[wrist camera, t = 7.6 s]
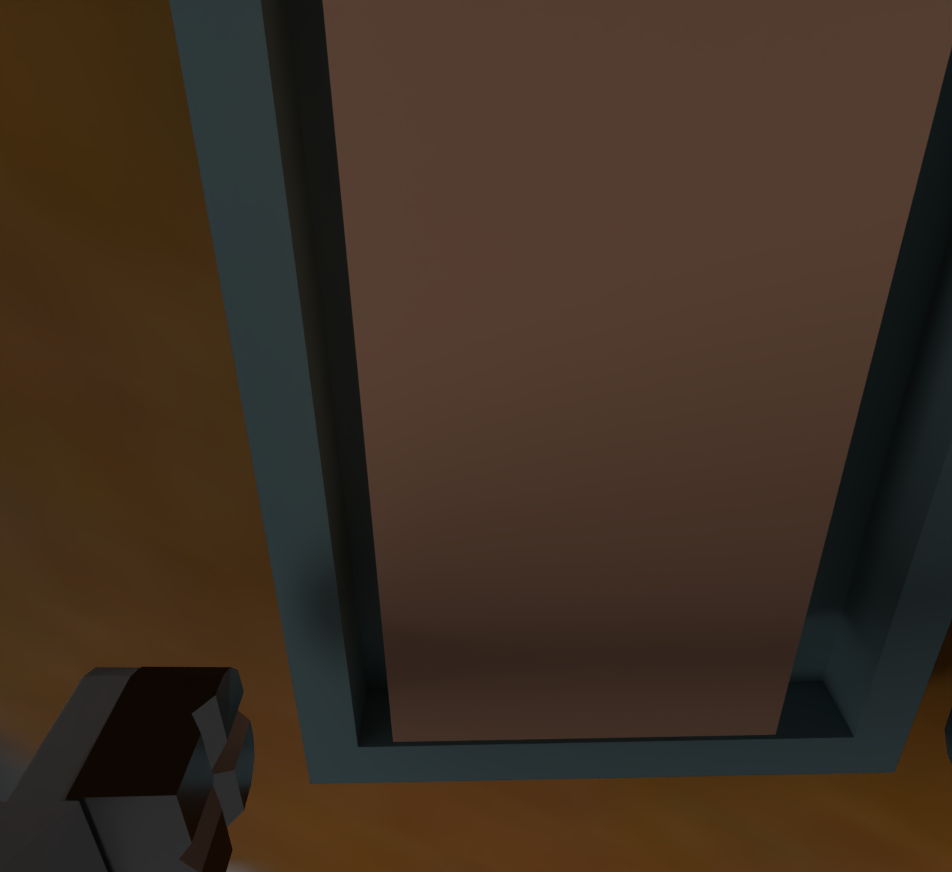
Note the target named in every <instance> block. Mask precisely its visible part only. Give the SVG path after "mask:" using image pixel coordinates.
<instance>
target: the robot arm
mask: <svg viewBox="0 0 952 872" xmlns="http://www.w3.org/2000/svg"><path fill="white" fill-rule="evenodd" d="M243 692H244V691H243V688H242V684H241V680H240V676H239V673H238V670H236V669H234V668H231V667H141V668H116V667H96V668H94V669H93V670H92V671H90V672H89V673H88V674H86V675H85V676H84V677H83V678H82V679H81V680H80V682H79V684H78V685H77V687H76V688H75V690H74V692H73V693H72V695H71V697H70V698H69V700H68V702H67V703H66V705H65V706H64V708H63V710H62V711H61V713H60V715H59V716H58V718H57V719H56V721H55V723H54V724H53V726H52V728H51V729H50V731H49V733H48V734H47V736H46V737H45V739H44V741H43V742H42V744H41V746H40V747H39V749H38V750H37V752H36V754H35V755H34V757H33V759H32V760H31V762H30V764H29V765H28V767H27V768H26V770H25V772H24V773H23V775H22V777H21V778H20V780H19V782H18V783H17V785H16V786H15V788H14V790H13V791H12V793H11V795H10V796H9V798H8V800H7V801H6V802H0V872H226V870H227V867H228V863H229V860H230V857H231V853H232V850H233V849H232V846H231V842H230V838H229V834H228V830H227V826H228V825H229V824H230V823H231V822H232V821H233V820H234V819H235V818H236V817H237V816H238V815H239V814H240V813H241V812H242V811H243V810H244V809H245V805H246V801H247V797H248V794H249V790H250V786H251V780H252V772H253V764H254V739H253V732H252V727H251V723H250V720H249V719H247V718H246V717H245V716H244V715H243V714H241V713H240V712H239V711H238V707H239V704H240V701H241V698H242V695H243ZM945 736H946V745H947V754H948V756H949V759H950V761H951V764H952V709H951V712H950V715H949V717H948V720H947V723H946V726H945Z"/></svg>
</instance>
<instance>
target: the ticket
mask: <svg viewBox="0 0 952 872" xmlns="http://www.w3.org/2000/svg"><path fill="white" fill-rule="evenodd" d="M322 1H323V11H324V22H325V32H326V43H327V53H328V64H329V74H330V85H331V95H332V106H333V116H334V127H335V137H336V148H337V158H338V169H339V179H340V190H341V200H342V211H343V221H344V232H345V242H346V253H347V263H348V274H349V284H350V295H351V305H352V316H353V326H354V337H355V347H356V358H357V368H358V379H359V389H360V400H361V410H362V421H363V431H364V442H365V452H366V463H367V473H368V484H369V494H370V505H371V516H372V526H373V537H374V547H375V558H376V568H377V579H378V589H379V600H380V610H381V621H382V631H383V642H384V652H385V663H386V673H387V684H388V694H389V705H390V715H391V726H392V736H393V742H416V741H469V740H522V739H575V738H628V737H681V736H733V735H776V731H777V727H778V723H779V719H780V715H781V711H782V707H783V703H784V700H785V696H786V692H787V688H788V684H789V680H790V676H791V672H792V668H793V664H794V661H795V657H796V653H797V649H798V645H799V641H800V637H801V633H802V629H803V625H804V621H805V618H806V614H807V610H808V606H809V602H810V598H811V594H812V590H813V586H814V582H815V579H816V575H817V571H818V567H819V563H820V559H821V555H822V551H823V547H824V543H825V540H826V536H827V532H828V528H829V524H830V520H831V516H832V512H833V508H834V504H835V500H836V497H837V493H838V489H839V485H840V481H841V477H842V473H843V469H844V465H845V461H846V458H847V454H848V450H849V446H850V442H851V438H852V434H853V430H854V426H855V422H856V419H857V415H858V411H859V407H860V403H861V399H862V395H863V391H864V387H865V383H866V379H867V376H868V372H869V368H870V364H871V360H872V356H873V352H874V348H875V344H876V340H877V337H878V333H879V329H880V325H881V321H882V317H883V313H884V309H885V305H886V301H887V298H888V294H889V290H890V286H891V282H892V278H893V274H894V270H895V266H896V262H897V258H898V255H899V251H900V247H901V243H902V239H903V235H904V231H905V227H906V223H907V219H908V216H909V212H910V208H911V204H912V200H913V196H914V192H915V188H916V184H917V180H918V177H919V173H920V169H921V165H922V161H923V157H924V153H925V149H926V145H927V141H928V137H929V134H930V130H931V126H932V122H933V118H934V114H935V110H936V106H937V102H938V98H939V95H940V91H941V87H942V83H943V79H944V75H945V71H946V67H947V63H948V59H949V56H950V52H951V48H952V0H322Z"/></svg>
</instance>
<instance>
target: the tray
mask: <svg viewBox="0 0 952 872" xmlns="http://www.w3.org/2000/svg"><path fill="white" fill-rule="evenodd" d="M169 2H170V7H171V13H172V19H173V24H174V30H175V35H176V41H177V46H178V52H179V57H180V63H181V68H182V74H183V80H184V85H185V91H186V96H187V102H188V107H189V113H190V118H191V124H192V130H193V135H194V141H195V146H196V152H197V157H198V163H199V168H200V174H201V179H202V185H203V191H204V196H205V202H206V207H207V213H208V218H209V224H210V229H211V235H212V240H213V246H214V252H215V257H216V263H217V268H218V274H219V279H220V285H221V290H222V296H223V301H224V307H225V313H226V318H227V324H228V329H229V335H230V340H231V346H232V351H233V357H234V363H235V368H236V374H237V379H238V385H239V390H240V396H241V401H242V407H243V412H244V418H245V424H246V429H247V435H248V440H249V446H250V451H251V457H252V462H253V468H254V473H255V479H256V485H257V490H258V496H259V501H260V507H261V512H262V518H263V523H264V529H265V534H266V540H267V546H268V551H269V557H270V562H271V568H272V573H273V579H274V584H275V590H276V596H277V601H278V607H279V612H280V618H281V623H282V629H283V634H284V640H285V645H286V651H287V657H288V662H289V668H290V673H291V679H292V684H293V690H294V695H295V701H296V706H297V712H298V718H299V723H300V729H301V734H302V740H303V745H304V751H305V756H306V762H307V767H308V773H309V779H310V784H332V783H382V782H432V781H482V780H532V779H582V778H632V777H682V776H732V775H782V774H832V773H882V772H894V771H895V769H896V766H897V763H898V761H899V758H900V755H901V753H902V750H903V747H904V745H905V742H906V740H907V737H908V734H909V732H910V729H911V726H912V724H913V721H914V718H915V716H916V713H917V710H918V708H919V705H920V702H921V700H922V697H923V694H924V692H925V689H926V686H927V684H928V681H929V678H930V676H931V673H932V670H933V668H934V665H935V662H936V660H937V657H938V654H939V652H940V649H941V646H942V644H943V641H944V639H945V636H946V633H947V631H948V628H949V625H950V623H951V620H952V48H951V52H950V56H949V59H948V63H947V67H946V71H945V75H944V79H943V83H942V87H941V91H940V95H939V98H938V102H937V106H936V110H935V114H934V118H933V122H932V126H931V130H930V134H929V137H928V141H927V145H926V149H925V153H924V157H923V161H922V165H921V169H920V173H919V177H918V180H917V184H916V188H915V192H914V196H913V200H912V204H911V208H910V212H909V216H908V219H907V223H906V227H905V231H904V235H903V239H902V243H901V247H900V251H899V255H898V258H897V262H896V266H895V270H894V274H893V278H892V282H891V286H890V290H889V294H888V298H887V301H886V305H885V309H884V313H883V317H882V321H881V325H880V329H879V333H878V337H877V340H876V344H875V348H874V352H873V356H872V360H871V364H870V368H869V372H868V376H867V379H866V383H865V387H864V391H863V395H862V399H861V403H860V407H859V411H858V415H857V419H856V422H855V426H854V430H853V434H852V438H851V442H850V446H849V450H848V454H847V458H846V461H845V465H844V469H843V473H842V477H841V481H840V485H839V489H838V493H837V497H836V500H835V504H834V508H833V512H832V516H831V520H830V524H829V528H828V532H827V536H826V540H825V543H824V547H823V551H822V555H821V559H820V563H819V567H818V571H817V575H816V579H815V582H814V586H813V590H812V594H811V598H810V602H809V606H808V610H807V614H806V618H805V621H804V625H803V629H802V633H801V637H800V641H799V645H798V649H797V653H796V657H795V661H794V664H793V668H792V672H791V676H790V680H789V684H788V688H787V692H786V696H785V700H784V703H783V707H782V711H781V715H780V719H779V723H778V727H777V731H776V735H733V736H681V737H628V738H575V739H522V740H469V741H416V742H393V736H392V726H391V715H390V705H389V694H388V684H387V673H386V663H385V652H384V642H383V631H382V621H381V610H380V600H379V589H378V579H377V568H376V558H375V547H374V537H373V526H372V516H371V505H370V494H369V484H368V473H367V463H366V452H365V442H364V431H363V421H362V410H361V400H360V389H359V379H358V368H357V358H356V347H355V337H354V326H353V316H352V305H351V295H350V284H349V274H348V263H347V253H346V242H345V232H344V221H343V211H342V200H341V190H340V179H339V169H338V158H337V148H336V137H335V127H334V116H333V106H332V95H331V85H330V74H329V64H328V53H327V43H326V32H325V22H324V11H323V1H322V0H169Z"/></svg>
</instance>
